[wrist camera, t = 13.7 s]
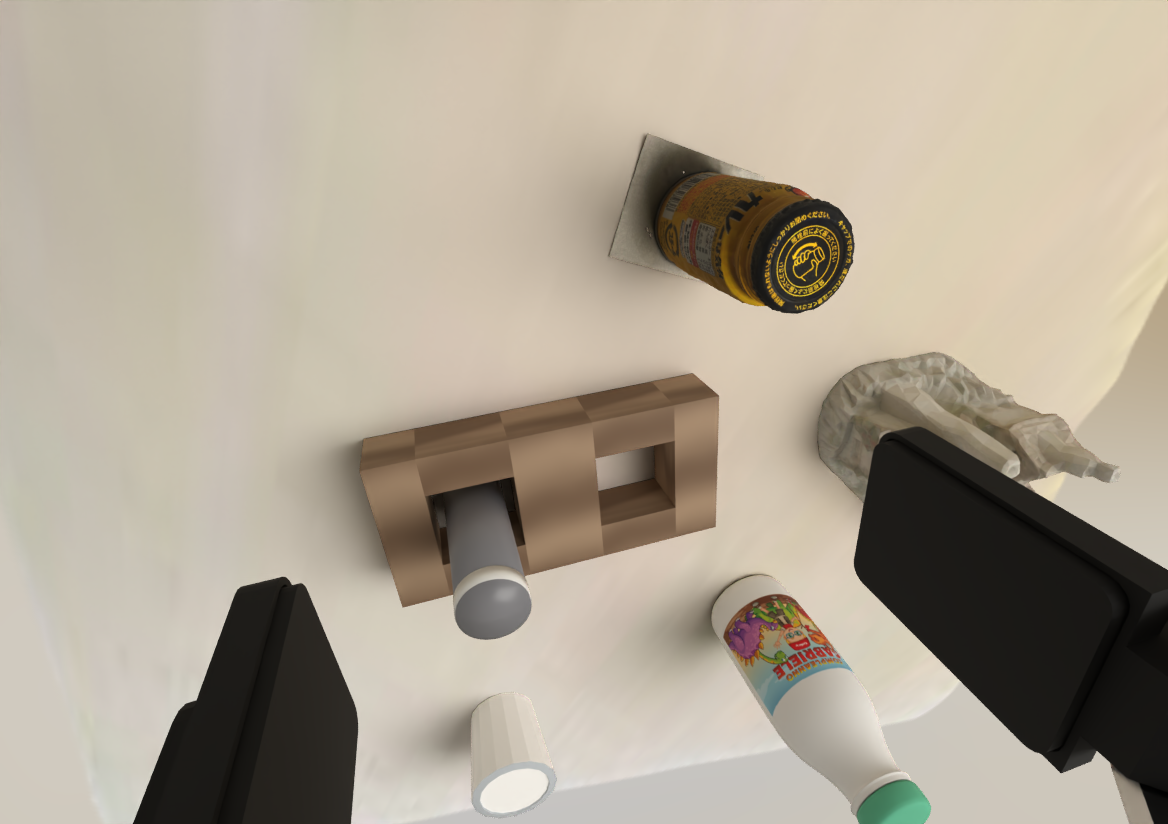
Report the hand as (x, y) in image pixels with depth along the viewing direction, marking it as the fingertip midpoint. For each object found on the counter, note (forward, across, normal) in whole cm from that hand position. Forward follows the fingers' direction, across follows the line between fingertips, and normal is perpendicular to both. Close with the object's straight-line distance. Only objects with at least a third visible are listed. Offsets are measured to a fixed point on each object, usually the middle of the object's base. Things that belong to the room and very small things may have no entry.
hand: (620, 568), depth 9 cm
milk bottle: (+28, -20, +36) cm, 50 cm away
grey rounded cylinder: (+28, +2, +16) cm, 33 cm away
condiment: (+29, -14, 0) cm, 32 cm away
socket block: (+28, -3, +16) cm, 33 cm away
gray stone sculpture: (+29, -33, +21) cm, 49 cm away
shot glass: (+28, +4, +41) cm, 50 cm away
